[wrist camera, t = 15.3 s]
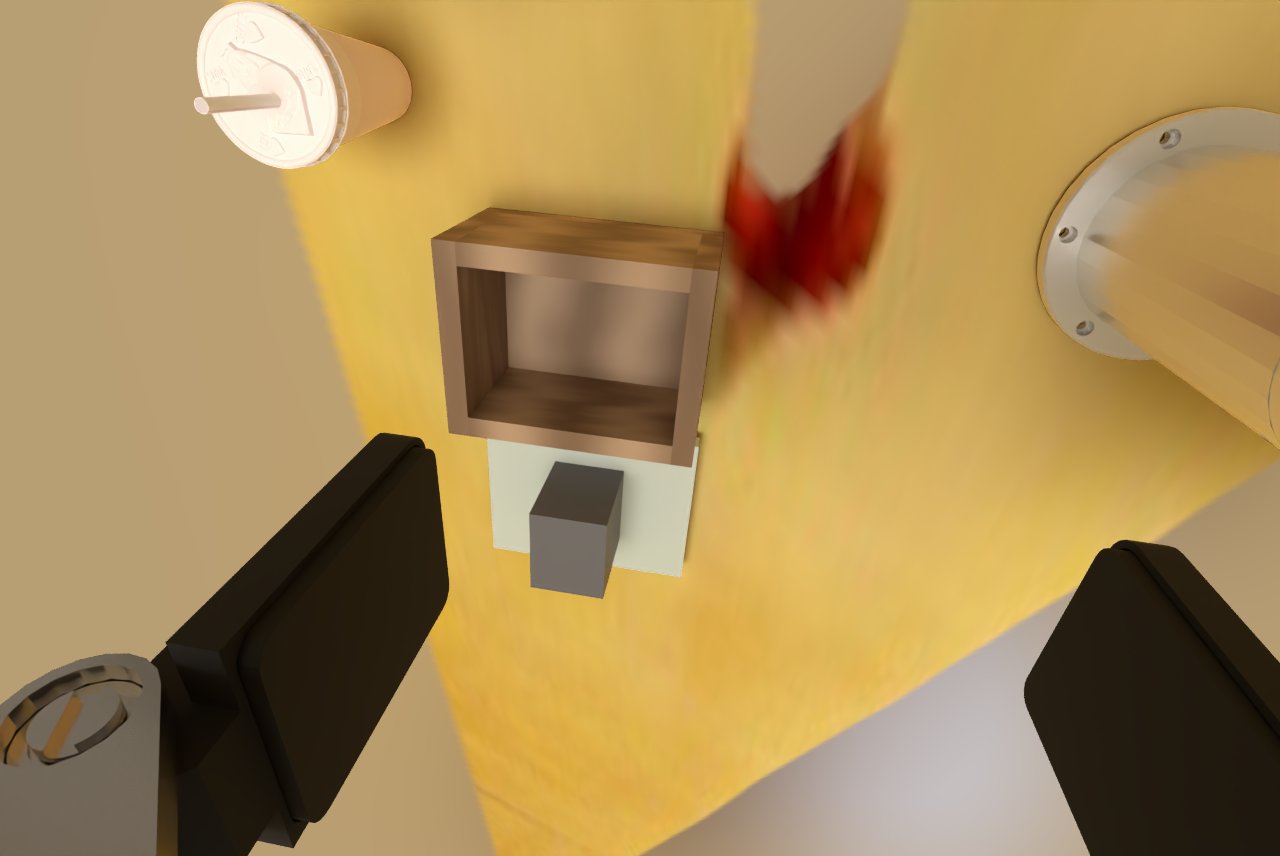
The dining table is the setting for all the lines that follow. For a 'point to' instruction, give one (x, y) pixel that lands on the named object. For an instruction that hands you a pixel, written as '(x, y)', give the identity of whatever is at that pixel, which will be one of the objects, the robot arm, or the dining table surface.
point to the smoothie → (294, 84)
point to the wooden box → (576, 332)
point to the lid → (588, 514)
